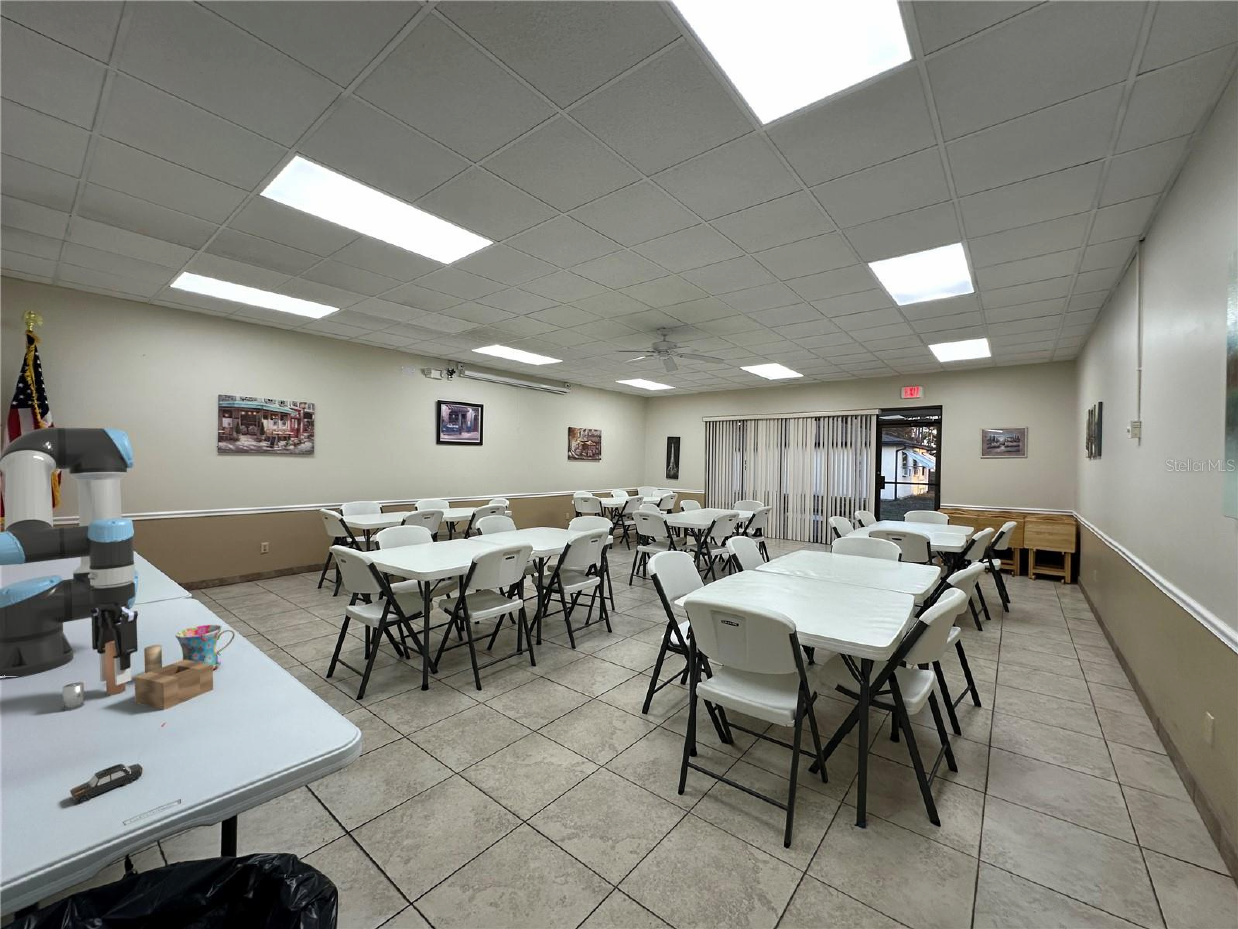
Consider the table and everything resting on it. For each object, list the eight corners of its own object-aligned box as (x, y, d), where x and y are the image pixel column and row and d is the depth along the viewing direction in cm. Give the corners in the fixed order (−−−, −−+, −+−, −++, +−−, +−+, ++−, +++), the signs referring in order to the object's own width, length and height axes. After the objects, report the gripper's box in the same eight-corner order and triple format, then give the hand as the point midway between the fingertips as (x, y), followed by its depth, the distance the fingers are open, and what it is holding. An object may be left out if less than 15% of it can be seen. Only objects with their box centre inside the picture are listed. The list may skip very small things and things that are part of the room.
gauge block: (135, 703, 114) (134, 677, 114) (185, 683, 123) (184, 659, 123) (164, 709, 110) (163, 683, 110) (213, 689, 120) (212, 664, 120)
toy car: (68, 799, 82) (67, 752, 82) (164, 762, 92) (163, 719, 92) (74, 808, 80) (72, 760, 80) (171, 769, 90) (169, 726, 90)
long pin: (103, 694, 118) (101, 644, 118) (120, 688, 121) (119, 639, 121) (111, 696, 117) (110, 645, 117) (128, 690, 120) (127, 640, 120)
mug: (177, 682, 124) (176, 640, 124) (175, 670, 131) (174, 630, 130) (237, 667, 132) (236, 628, 132) (233, 657, 139) (232, 619, 139)
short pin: (59, 709, 111) (59, 687, 111) (78, 702, 114) (78, 681, 114) (68, 712, 110) (67, 689, 110) (87, 705, 113) (86, 683, 113)
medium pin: (142, 680, 125) (141, 648, 125) (157, 675, 128) (156, 644, 128) (150, 682, 124) (149, 650, 124) (165, 676, 127) (164, 645, 127)
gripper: (68, 585, 118) (71, 682, 118) (116, 591, 112) (119, 693, 113) (109, 577, 125) (112, 669, 125) (156, 583, 119) (159, 679, 120)
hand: (115, 680), depth 119 cm, fingers open, 5 cm apart
